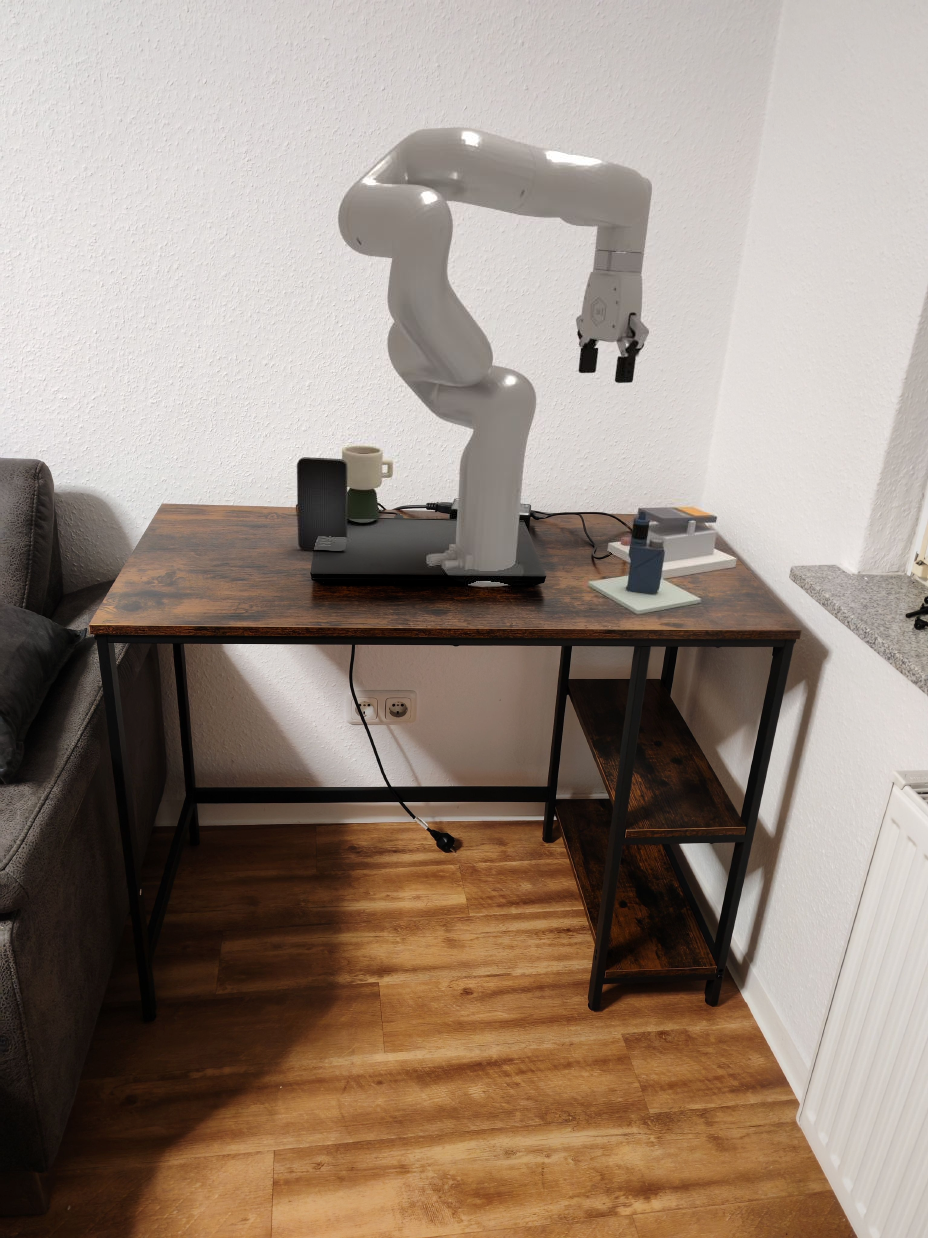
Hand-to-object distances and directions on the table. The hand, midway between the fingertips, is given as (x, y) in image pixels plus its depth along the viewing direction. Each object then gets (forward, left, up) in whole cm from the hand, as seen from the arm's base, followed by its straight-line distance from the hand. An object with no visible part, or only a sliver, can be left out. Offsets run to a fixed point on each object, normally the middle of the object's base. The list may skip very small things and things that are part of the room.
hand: (604, 377), depth 146 cm
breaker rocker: (+9, -12, -21) cm, 25 cm away
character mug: (-32, +24, -28) cm, 49 cm away
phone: (-44, +12, -28) cm, 54 cm away
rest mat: (-6, -23, -28) cm, 37 cm away
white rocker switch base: (+9, -12, -28) cm, 32 cm away
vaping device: (-7, -23, -28) cm, 37 cm away
